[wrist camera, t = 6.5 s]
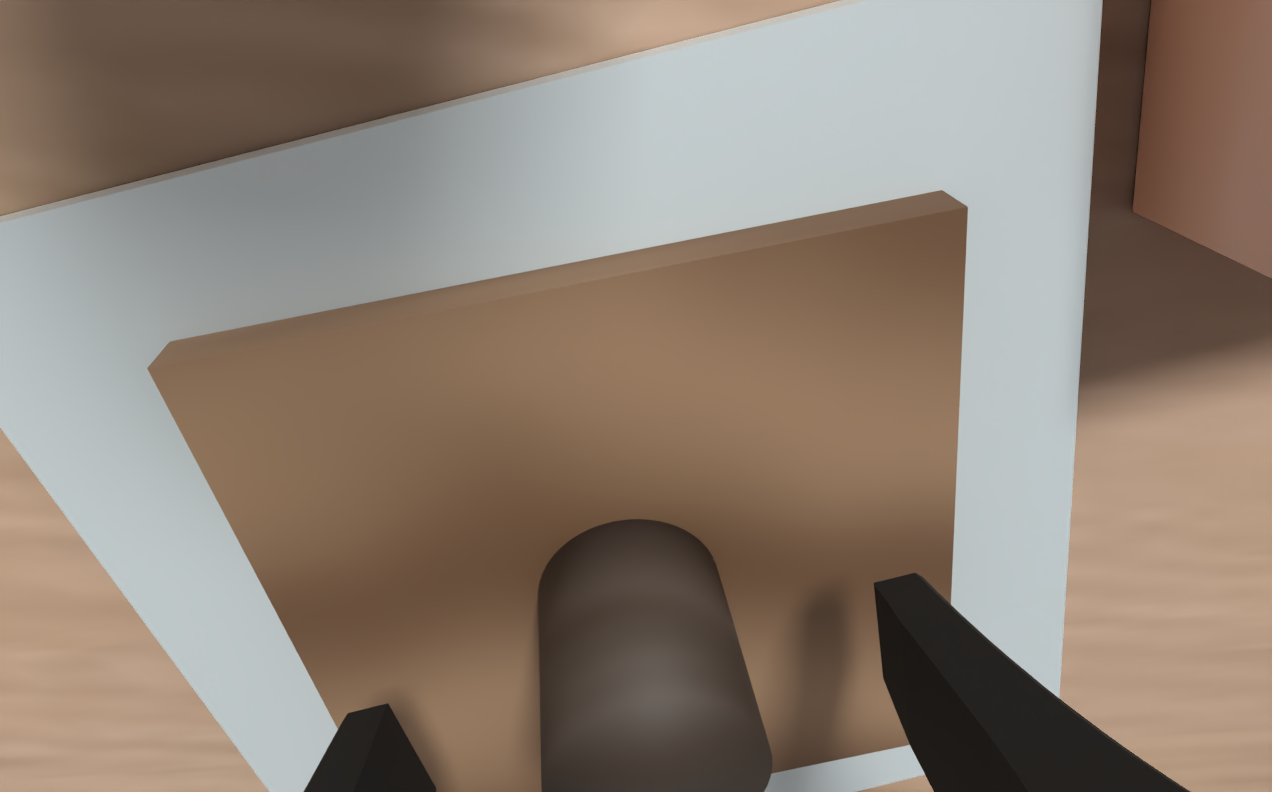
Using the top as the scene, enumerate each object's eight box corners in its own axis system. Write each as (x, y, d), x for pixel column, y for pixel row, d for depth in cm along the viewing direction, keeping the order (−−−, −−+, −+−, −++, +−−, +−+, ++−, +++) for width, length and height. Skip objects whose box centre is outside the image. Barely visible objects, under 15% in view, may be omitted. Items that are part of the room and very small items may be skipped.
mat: (1044, 723, 19) (1056, 742, 18) (362, 890, 19) (359, 913, 19) (1083, -62, 11) (1106, -61, 10) (-102, 242, 11) (-127, 255, 11)
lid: (928, 705, 17) (1037, 919, 14) (406, 812, 17) (373, 1060, 13) (941, 190, 12) (1133, 315, 8) (169, 341, 12) (1, 541, 8)
